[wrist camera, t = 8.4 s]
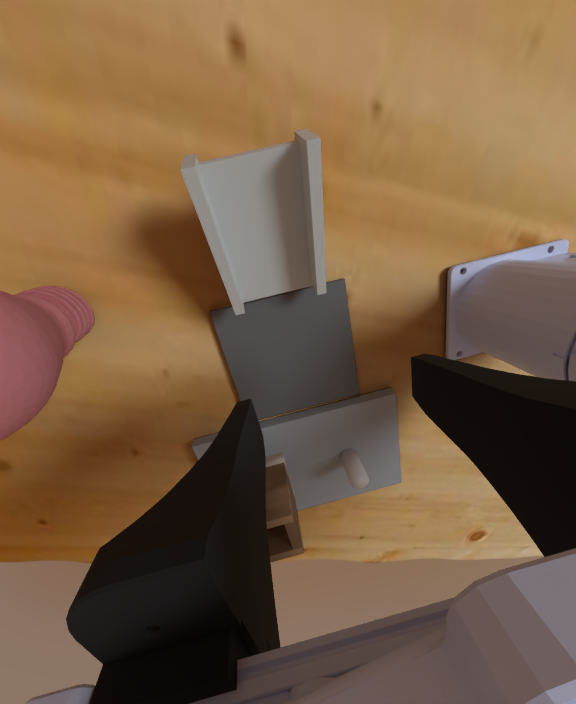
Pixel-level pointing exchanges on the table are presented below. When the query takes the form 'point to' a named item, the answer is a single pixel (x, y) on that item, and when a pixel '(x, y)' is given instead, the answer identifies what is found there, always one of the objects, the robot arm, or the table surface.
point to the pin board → (334, 447)
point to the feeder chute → (263, 217)
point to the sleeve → (281, 511)
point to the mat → (290, 349)
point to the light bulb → (36, 348)
